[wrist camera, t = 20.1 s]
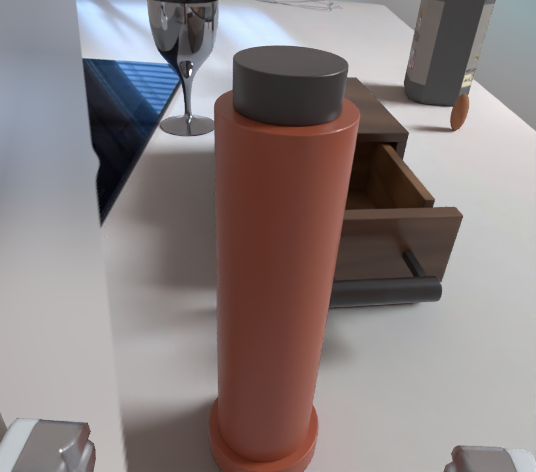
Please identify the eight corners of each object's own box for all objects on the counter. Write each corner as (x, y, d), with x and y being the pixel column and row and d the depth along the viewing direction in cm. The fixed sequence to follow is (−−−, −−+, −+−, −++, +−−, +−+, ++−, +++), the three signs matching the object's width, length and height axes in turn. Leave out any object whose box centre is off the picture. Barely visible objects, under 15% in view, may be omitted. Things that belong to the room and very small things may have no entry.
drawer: (465, 338, 32) (499, 255, 28) (279, 351, 30) (287, 265, 26) (375, 196, 47) (389, 130, 43) (248, 199, 46) (251, 130, 42)
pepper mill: (211, 494, 23) (198, 87, 12) (207, 395, 28) (196, 35, 17) (326, 482, 24) (414, 89, 13) (304, 388, 29) (354, 39, 18)
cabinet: (389, 219, 46) (409, 132, 41) (245, 224, 44) (247, 133, 39) (345, 149, 58) (356, 77, 53) (232, 151, 56) (233, 76, 51)
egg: (463, 133, 65) (474, 97, 62) (447, 131, 65) (458, 95, 62) (461, 128, 66) (471, 92, 64) (446, 126, 67) (455, 90, 64)
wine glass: (229, 121, 64) (230, -3, 56) (199, 142, 58) (195, 6, 50) (178, 110, 67) (172, -11, 58) (144, 129, 60) (131, -3, 52)
